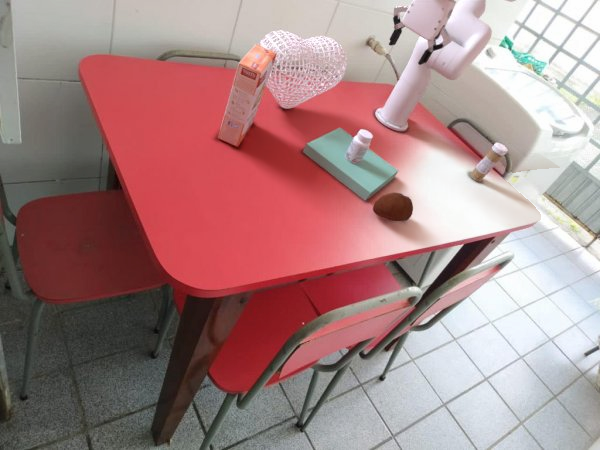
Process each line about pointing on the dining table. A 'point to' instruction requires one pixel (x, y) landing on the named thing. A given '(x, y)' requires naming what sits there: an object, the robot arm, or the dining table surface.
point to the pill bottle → (359, 146)
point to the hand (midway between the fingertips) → (406, 54)
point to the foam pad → (350, 164)
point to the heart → (304, 44)
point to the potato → (393, 207)
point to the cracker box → (246, 94)
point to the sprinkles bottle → (488, 161)
